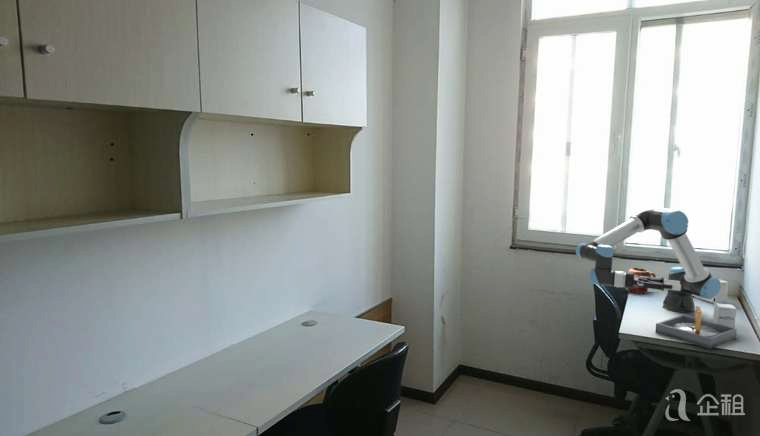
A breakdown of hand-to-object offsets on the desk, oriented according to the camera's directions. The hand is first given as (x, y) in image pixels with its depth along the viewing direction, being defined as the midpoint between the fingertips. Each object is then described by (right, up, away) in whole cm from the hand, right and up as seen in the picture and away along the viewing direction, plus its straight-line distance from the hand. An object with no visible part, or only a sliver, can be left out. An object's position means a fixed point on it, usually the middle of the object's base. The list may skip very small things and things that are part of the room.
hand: (680, 285), depth 234 cm
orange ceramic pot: (+22, -14, +79) cm, 83 cm away
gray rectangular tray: (+9, -24, +4) cm, 26 cm away
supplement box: (+27, -23, +11) cm, 37 cm away
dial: (+9, -22, +4) cm, 24 cm away
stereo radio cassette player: (+52, -17, +63) cm, 84 cm away
